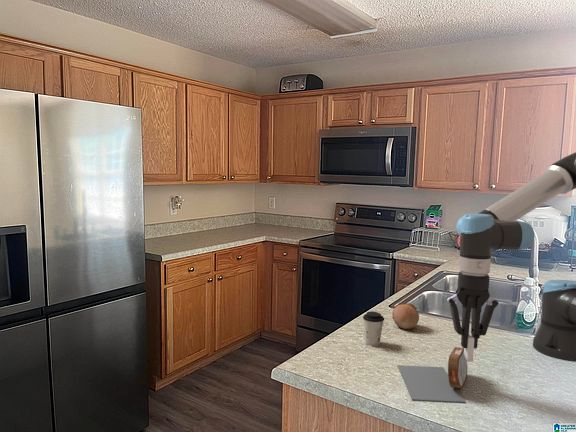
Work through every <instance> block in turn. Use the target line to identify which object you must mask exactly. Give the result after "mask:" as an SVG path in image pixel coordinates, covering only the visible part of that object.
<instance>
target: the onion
mask: <svg viewBox="0 0 576 432" xmlns="http://www.w3.org/2000/svg"><path fill="white" fill-rule="evenodd" d="M391 318H392V320H393V322H394V323H395V325H396V326H397V327H398V328H401V329H403V330H407V329H408V330H413V329H414V328H416V327H417V325H418V324H419V322H420V321H419V320H420V315H419V311H418V308H417V307H416V306H415V305H414V304H413V303H411V302H409V303H408V302H407V303H402V304H398V305H396V306H395V307H394V308H393V310H392V317H391Z"/></svg>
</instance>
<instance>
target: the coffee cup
mask: <svg viewBox="0 0 576 432" xmlns="http://www.w3.org/2000/svg"><path fill="white" fill-rule="evenodd" d="M362 319H363V328H364V329H363V330H364V341H365V344H366V345H367V346H371V347H378V346H380V343H381V337H382V331H383V326H384V321H385V318H384V316H383V315H382V314H381V313H380V312H377V311H373V310H372V311H367V312H366V313H365V314H363V316H362Z"/></svg>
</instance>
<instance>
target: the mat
mask: <svg viewBox="0 0 576 432" xmlns="http://www.w3.org/2000/svg"><path fill="white" fill-rule="evenodd" d="M397 369H398V370H399V373H400V376H401V377H402V380H403V383H404V385H405V386H406V387H405V388H406V390H407V392H408V393H409V396H410V399H411V401H416V402H417V401H419V402H420V401H422V402H439V403H442V402H443V403H463V404H466V401H465V399H464V398H463V396H462V394H461V393H460V391H459V390H458V388H455V387H450V384H449V379H448V372H447V371H446V370H445V369H444V367H443V366H428V365H427V366H426V365H425V366H424V365H403V364H402V365H401V364H397Z"/></svg>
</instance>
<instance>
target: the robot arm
mask: <svg viewBox="0 0 576 432" xmlns="http://www.w3.org/2000/svg"><path fill="white" fill-rule="evenodd" d="M574 190H576V151H575V152H573V153H570V154H567V155H566V156H565V157H562V158H561V159H559V160H557V161H555V162H554V163H552V164H550V165H549V166H547V167H546V168H545V169H544V172H543V173H542V174H540V175H539V176H537V177H535V178H534V179H532V180H530V181H529V182H527V183H526V184H524V185H523V186H521V187H519V188H518V189H516V190H514V191H512V192H511V193H509V194H508V195H506V196H504V197H503V198H501V199H500V200H498V201H496V202H494V203H493V204H491V205H489V206H488V207H486V208H485V209H483V210H481V211H480V212H478V213H473V212H472V213H465V214H464V215H462V216H461V217H460V218H459V219H458V220H457V223H456V232H457V234H458V236H459V237H460V242H459V243H460V244H459V257H458V258H459V260H458V261H459V262H458V270H459V272H458V274H457V289H456V290H455V294H453V295H451V296H447V297H446V298H445V299H446V301H447V302H448V305H449V308H450V313H451V314H450V315H451V318H452V324H453V329H454V331H455V332H456V333H457V334H458V335H460V336H461V339H460V346H461V348H464V358H465V360H466V361H467V363H468V362H469V363H470V362H471V363H472V362H474V352H475V351H474V349H478V342H479V339H480V338H481V336H486V334H487V333H488V329H489V326H490V322H491V320H492V317H493V315H494V311H495V309H496V308H497V307H498V305H499V301H498V300H496V299H495V298H493V297H491V294H490V292H489V287H490V278H491V277H490V275H489V274H490V273H491V261H492V260H491V259H492V253H493V252H492V251H509V250H510V251H511V250H512V251H513V250H515V251H518V250H526V249H529V248H531V246H532V245H533V244H534V241H535V230H534V228H533V226H532V225H531V224H530V223H529V222H526V221H518V220H519V219H521V218H523V217H524V216H526V215H527V214H529V213H530V212H532V211H534V210H536V209H537V208H538V207H541V206H542V205H543V204H545V203H547V202H548V201H550V200H553V199H554V198H555V197H557V196H558V195H560V194H567V193H569V192H571V191H574ZM541 299H542V300H541V312H540V313H541V315H540V323H539V326H538V329H537V331H536V332H535V335H534V337H533V339H532V348H534V349H535V350H536V351H537V352H538V353H541V354H543V355H547V356H549V357H553V358H556V359H561V360H567V361H576V280H573V279H572V280H570V279H550V280H547V281H545V283H544V284H543V290H542V298H541ZM458 301H459V303H460V304H461V309H462V310H461V311H462V314H461V319H460V314H459V309H458V306H457V304H458ZM485 303H486V304H485ZM484 305H485V307H484V310H483V313H482V307H483V306H484ZM481 313H482V315H481ZM470 323H471V326H470ZM470 327H471V328H470Z"/></svg>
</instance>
